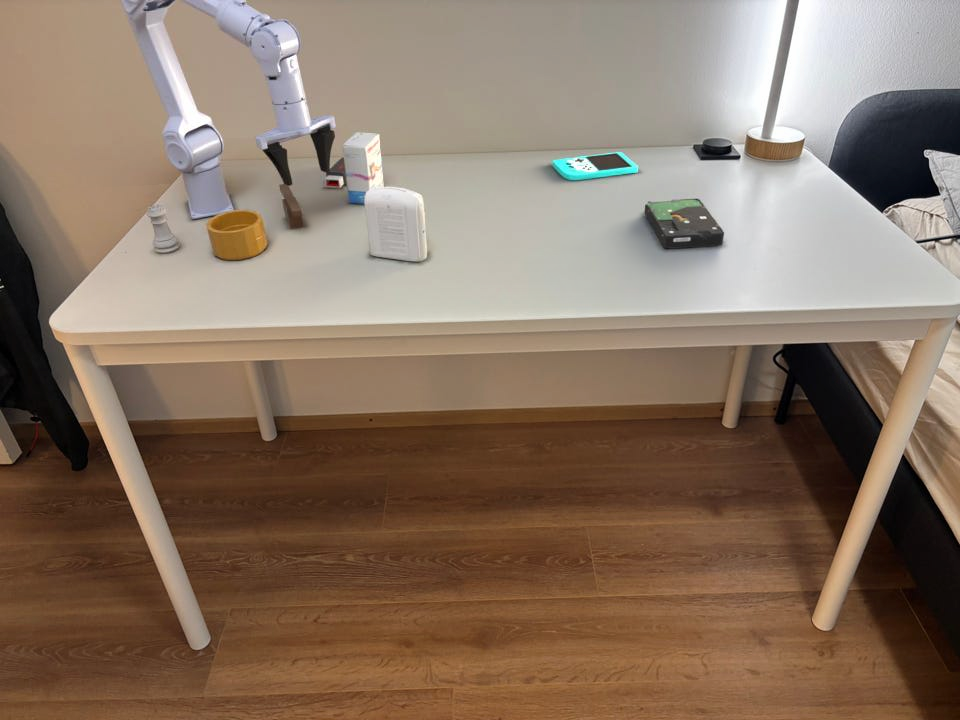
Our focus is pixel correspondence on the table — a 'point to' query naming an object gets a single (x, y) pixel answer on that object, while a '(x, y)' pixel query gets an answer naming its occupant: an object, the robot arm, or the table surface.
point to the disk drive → (683, 223)
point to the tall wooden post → (291, 207)
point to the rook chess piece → (162, 231)
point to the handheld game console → (594, 166)
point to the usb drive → (336, 175)
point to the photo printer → (396, 223)
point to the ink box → (362, 165)
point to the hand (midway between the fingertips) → (307, 177)
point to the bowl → (237, 234)
